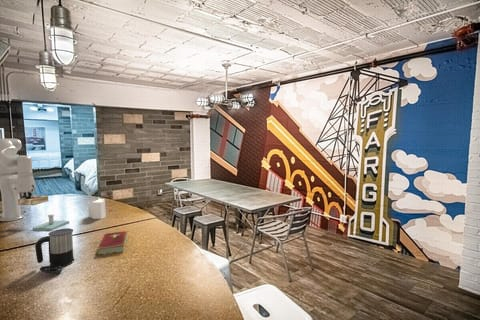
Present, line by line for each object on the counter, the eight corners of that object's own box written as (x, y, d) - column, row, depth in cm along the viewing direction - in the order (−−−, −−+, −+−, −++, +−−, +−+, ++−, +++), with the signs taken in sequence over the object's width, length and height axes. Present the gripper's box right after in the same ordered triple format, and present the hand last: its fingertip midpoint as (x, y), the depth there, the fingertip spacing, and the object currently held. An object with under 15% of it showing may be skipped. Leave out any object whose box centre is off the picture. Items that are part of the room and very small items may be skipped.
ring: (18, 204, 162) (17, 199, 162) (33, 200, 173) (33, 195, 173) (33, 205, 161) (33, 199, 160) (48, 201, 172) (48, 196, 171)
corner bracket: (101, 218, 179) (100, 202, 178) (85, 218, 179) (85, 202, 178) (109, 214, 190) (108, 198, 189) (94, 214, 190) (94, 198, 189)
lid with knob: (32, 229, 157) (31, 218, 157) (51, 222, 171) (51, 211, 170) (51, 230, 156) (50, 218, 155) (69, 223, 170) (68, 212, 169)
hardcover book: (97, 256, 122) (96, 248, 122) (104, 240, 142) (104, 233, 141) (124, 252, 126) (124, 244, 126) (127, 237, 146) (127, 230, 145)
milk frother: (71, 256, 121) (69, 226, 120) (83, 267, 111) (81, 234, 110) (33, 268, 110) (31, 235, 109) (43, 280, 100) (40, 244, 99)
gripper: (8, 175, 163) (11, 203, 164) (30, 175, 161) (32, 203, 163) (20, 173, 170) (22, 200, 172) (41, 174, 169) (42, 201, 170)
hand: (27, 201), depth 167 cm, fingers closed on ring, 1 cm apart
